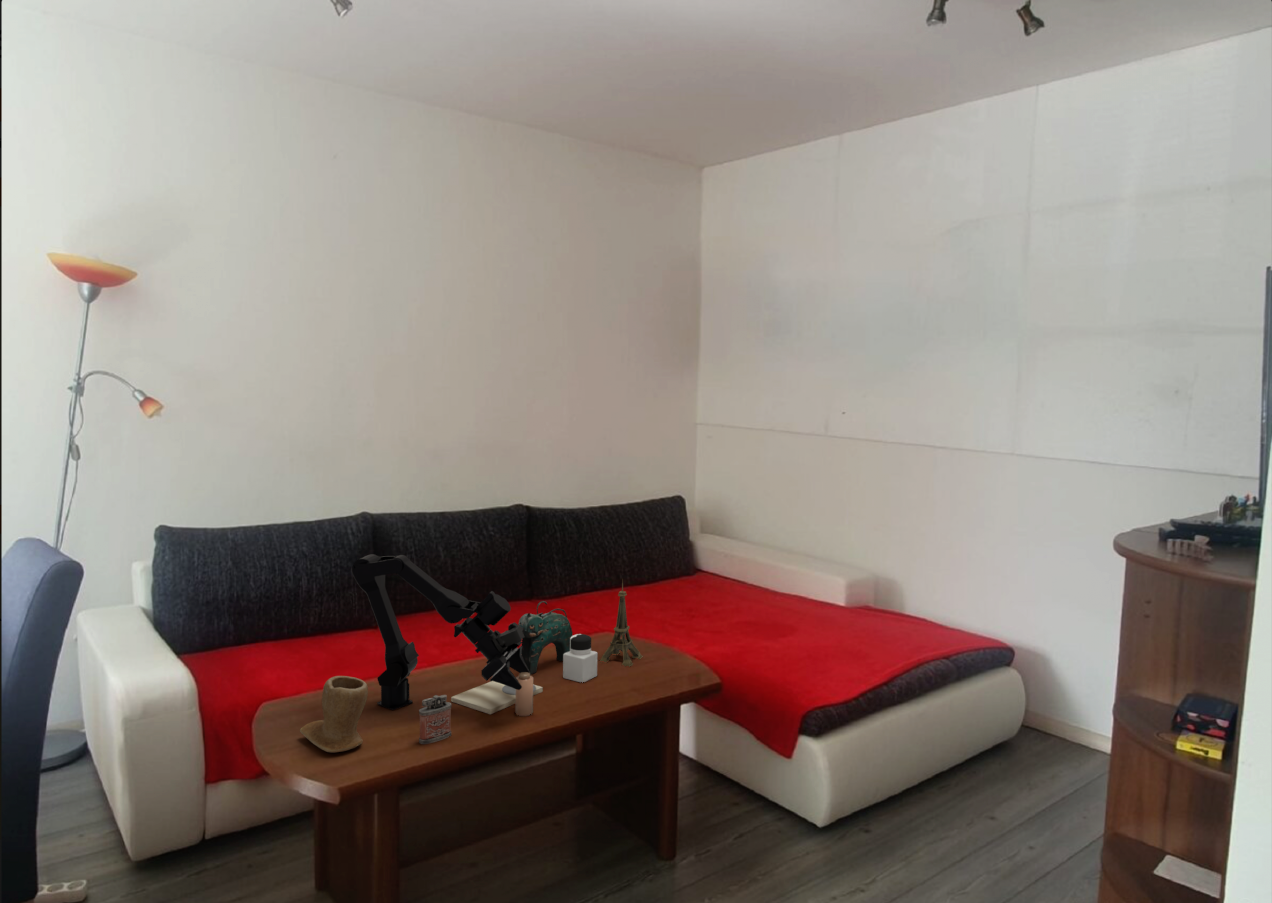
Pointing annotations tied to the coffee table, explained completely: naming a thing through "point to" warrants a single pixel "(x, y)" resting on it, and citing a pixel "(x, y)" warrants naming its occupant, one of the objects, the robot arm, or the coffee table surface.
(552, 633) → the ceramic cat
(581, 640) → the medicine bottle
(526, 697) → the pink cylindrical bottle
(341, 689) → the stone cup
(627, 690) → the coffee table surface
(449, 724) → the lighter
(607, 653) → the eiffel tower
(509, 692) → the serving board
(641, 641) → the coffee table surface
